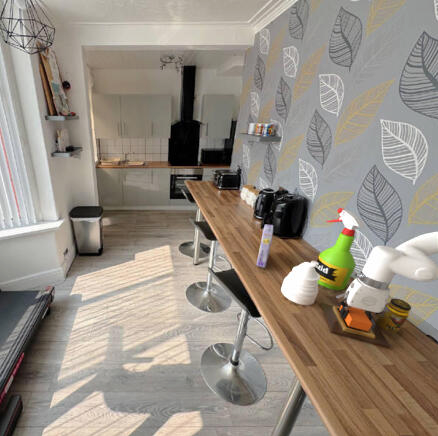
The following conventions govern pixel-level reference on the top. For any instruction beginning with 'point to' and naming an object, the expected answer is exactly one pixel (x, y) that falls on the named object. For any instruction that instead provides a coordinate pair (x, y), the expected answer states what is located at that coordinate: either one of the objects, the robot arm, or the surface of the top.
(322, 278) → the spray bottle
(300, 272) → the honey pot
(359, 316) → the pad
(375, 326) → the board
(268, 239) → the cake pan box
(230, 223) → the top surface
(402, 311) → the condiment
